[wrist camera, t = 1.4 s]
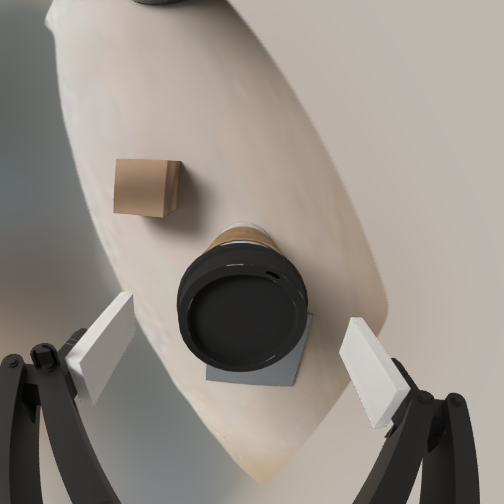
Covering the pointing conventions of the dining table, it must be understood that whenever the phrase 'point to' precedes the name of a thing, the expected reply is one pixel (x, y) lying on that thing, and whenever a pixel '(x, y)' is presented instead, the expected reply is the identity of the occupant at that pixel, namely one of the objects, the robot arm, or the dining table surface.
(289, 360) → the slate coaster
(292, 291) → the coffee cup
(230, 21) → the dining table surface
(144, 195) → the walnut block
